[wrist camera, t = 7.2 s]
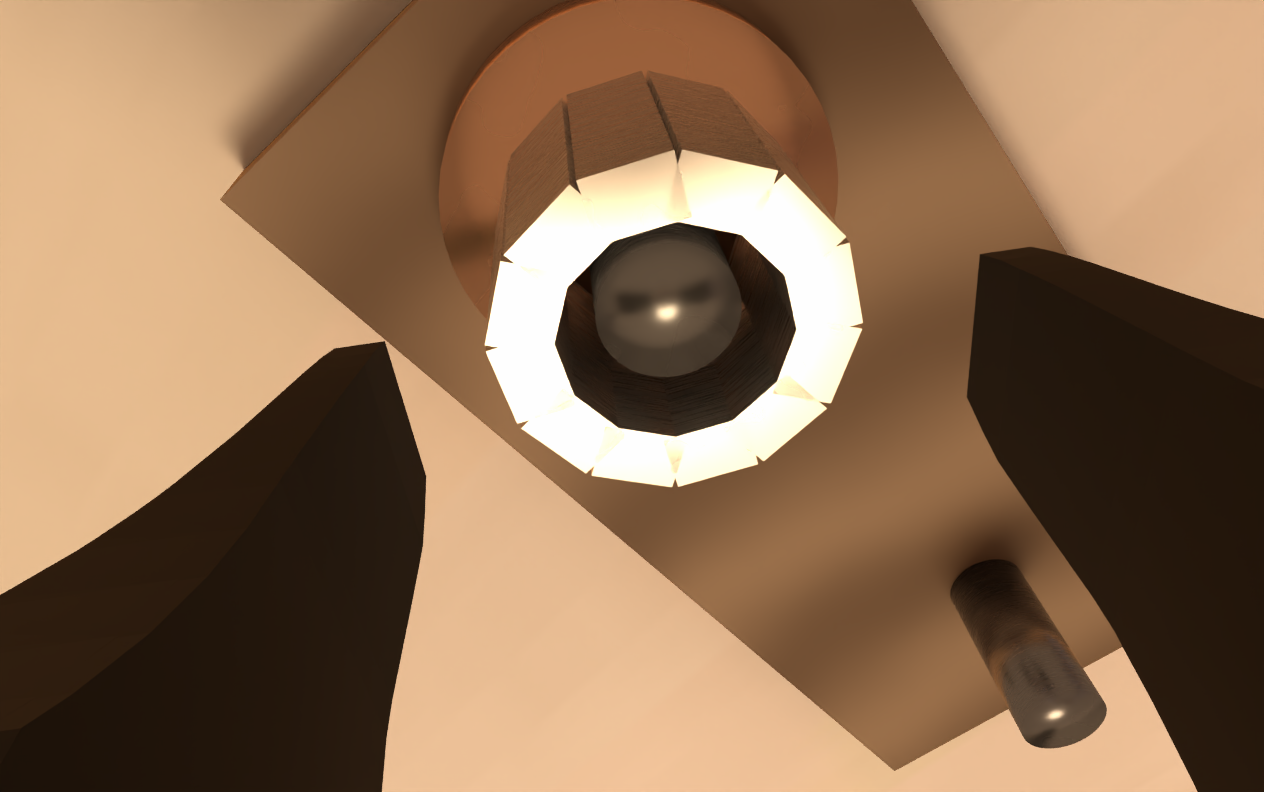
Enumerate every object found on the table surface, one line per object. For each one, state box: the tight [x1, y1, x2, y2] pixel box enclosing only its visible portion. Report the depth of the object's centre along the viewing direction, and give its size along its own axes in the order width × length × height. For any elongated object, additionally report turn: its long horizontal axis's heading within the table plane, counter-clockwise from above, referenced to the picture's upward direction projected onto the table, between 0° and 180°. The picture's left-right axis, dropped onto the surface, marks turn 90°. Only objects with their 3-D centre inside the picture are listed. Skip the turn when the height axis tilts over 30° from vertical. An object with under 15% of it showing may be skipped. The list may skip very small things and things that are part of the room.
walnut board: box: [220, 0, 1122, 771], centre depth 20 cm, size 23×11×2 cm, turn 40°
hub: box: [438, 0, 838, 377], centre depth 15 cm, size 7×7×5 cm
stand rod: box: [950, 559, 1107, 748], centre depth 21 cm, size 2×2×4 cm
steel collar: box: [485, 70, 863, 487], centre depth 14 cm, size 5×5×4 cm
